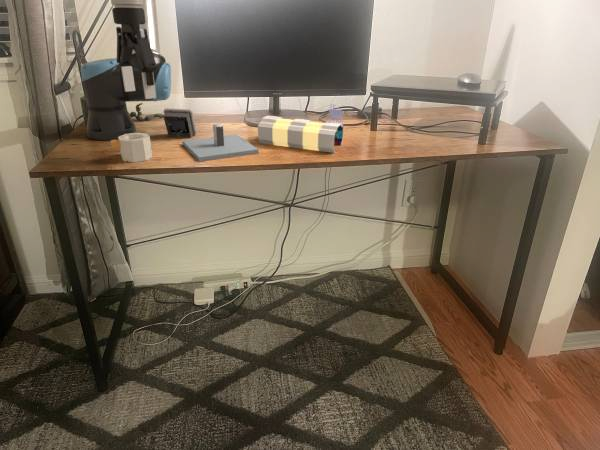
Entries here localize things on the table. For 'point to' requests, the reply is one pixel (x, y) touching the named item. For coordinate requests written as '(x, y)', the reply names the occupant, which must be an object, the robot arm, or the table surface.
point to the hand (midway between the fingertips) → (140, 94)
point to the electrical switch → (179, 123)
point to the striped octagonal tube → (302, 132)
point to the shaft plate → (219, 146)
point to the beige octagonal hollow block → (133, 147)
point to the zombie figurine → (146, 116)
